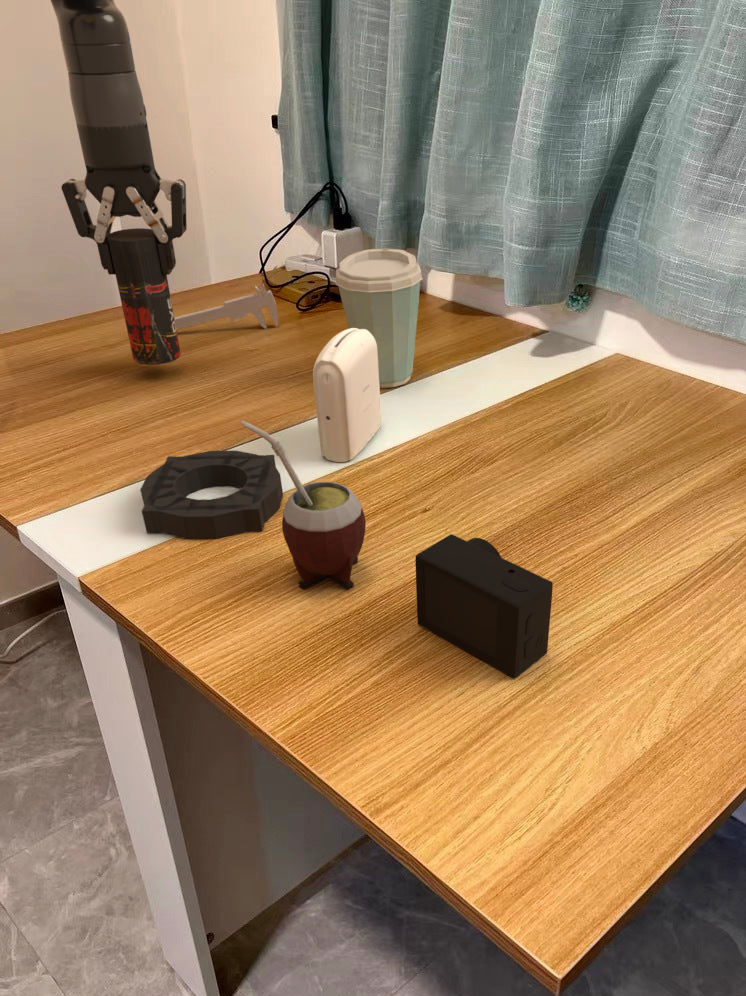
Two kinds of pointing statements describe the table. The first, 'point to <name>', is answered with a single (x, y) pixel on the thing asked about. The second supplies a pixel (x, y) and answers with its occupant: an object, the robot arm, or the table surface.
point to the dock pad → (214, 516)
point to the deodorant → (144, 296)
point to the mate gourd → (320, 526)
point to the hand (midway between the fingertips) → (140, 272)
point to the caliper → (234, 310)
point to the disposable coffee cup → (383, 306)
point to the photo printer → (347, 394)
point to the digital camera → (483, 603)
